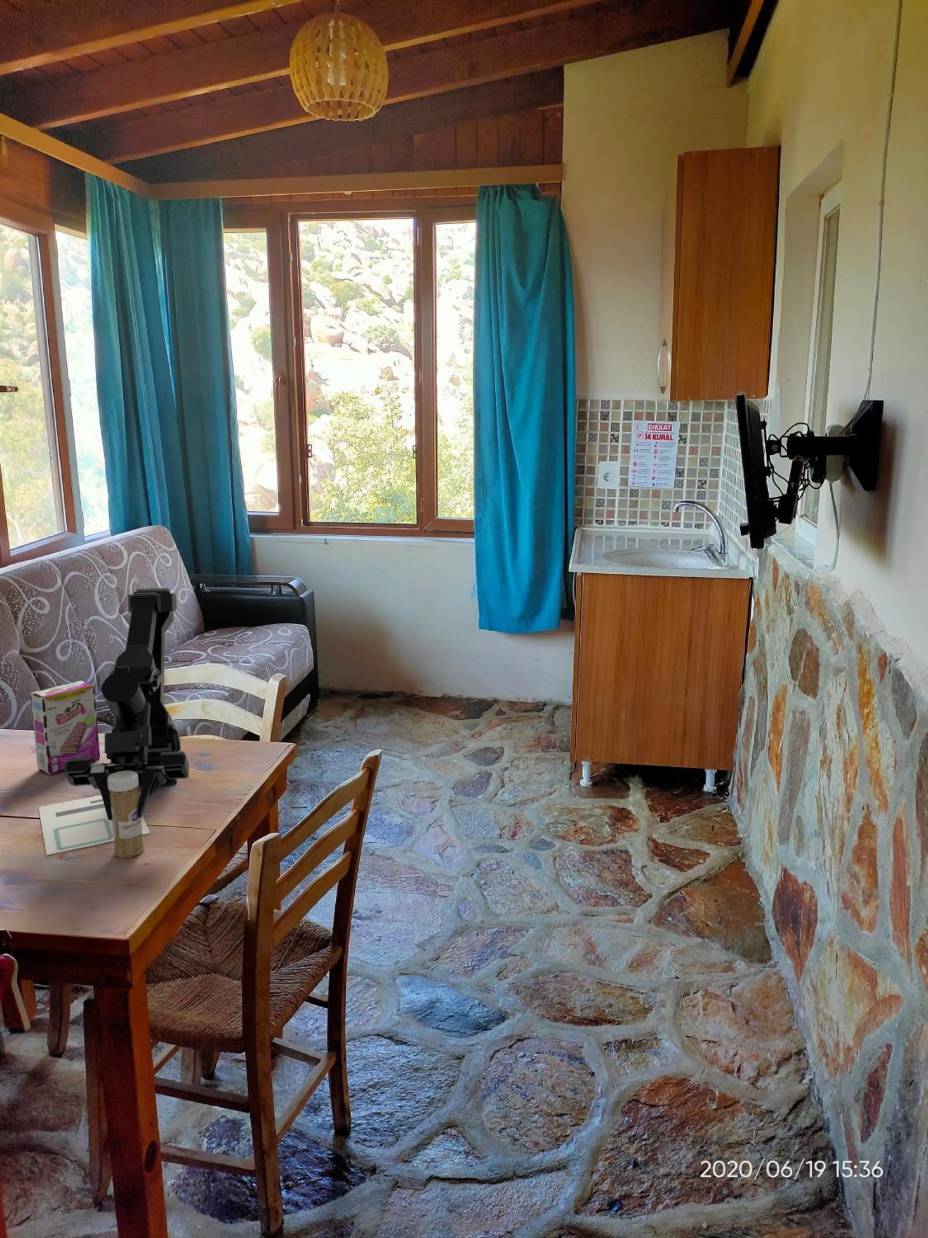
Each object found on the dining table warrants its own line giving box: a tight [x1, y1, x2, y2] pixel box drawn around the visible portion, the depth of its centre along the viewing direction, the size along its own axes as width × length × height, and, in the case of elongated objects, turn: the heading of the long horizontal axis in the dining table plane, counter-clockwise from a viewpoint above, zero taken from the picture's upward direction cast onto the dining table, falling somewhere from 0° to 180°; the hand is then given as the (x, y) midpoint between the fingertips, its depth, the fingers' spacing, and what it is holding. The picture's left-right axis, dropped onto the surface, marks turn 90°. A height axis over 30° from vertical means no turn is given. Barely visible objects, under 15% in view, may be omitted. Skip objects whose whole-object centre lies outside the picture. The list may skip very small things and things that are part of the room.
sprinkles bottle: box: [108, 771, 145, 858], centre depth 141 cm, size 5×5×13 cm
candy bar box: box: [30, 680, 101, 776], centre depth 175 cm, size 11×5×16 cm, turn 144°
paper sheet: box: [38, 794, 151, 857], centre depth 153 cm, size 16×20×1 cm
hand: (124, 818), depth 139 cm, fingers closed on sprinkles bottle, 4 cm apart
